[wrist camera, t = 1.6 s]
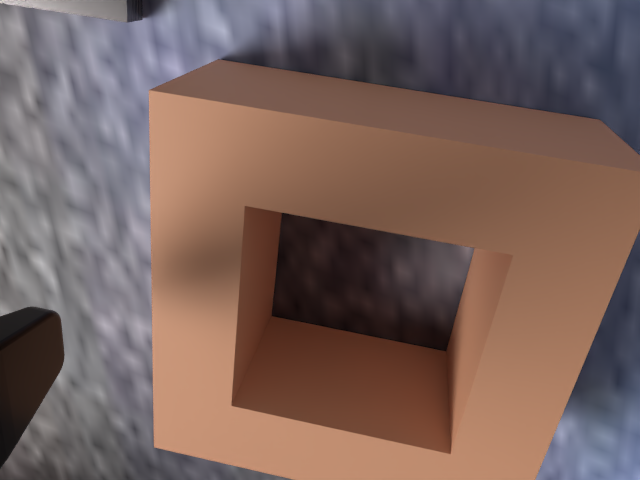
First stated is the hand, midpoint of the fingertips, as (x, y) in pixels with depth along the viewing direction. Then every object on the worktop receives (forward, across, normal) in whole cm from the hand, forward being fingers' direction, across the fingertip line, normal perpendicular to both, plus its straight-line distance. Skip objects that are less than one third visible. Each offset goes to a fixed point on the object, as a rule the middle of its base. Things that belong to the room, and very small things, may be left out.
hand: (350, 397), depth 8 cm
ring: (+4, 0, 0) cm, 4 cm away
